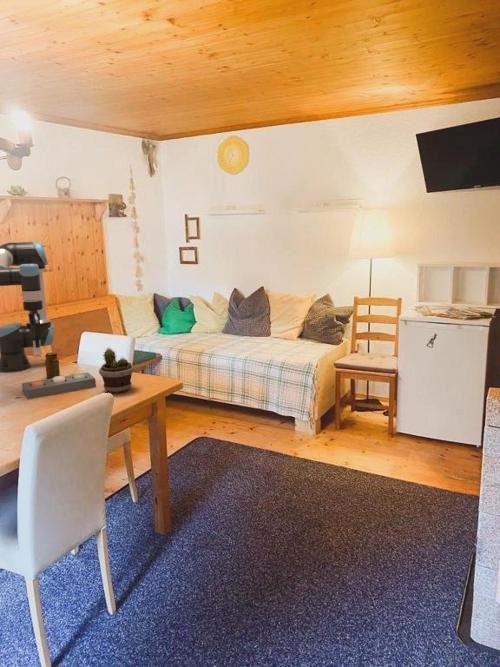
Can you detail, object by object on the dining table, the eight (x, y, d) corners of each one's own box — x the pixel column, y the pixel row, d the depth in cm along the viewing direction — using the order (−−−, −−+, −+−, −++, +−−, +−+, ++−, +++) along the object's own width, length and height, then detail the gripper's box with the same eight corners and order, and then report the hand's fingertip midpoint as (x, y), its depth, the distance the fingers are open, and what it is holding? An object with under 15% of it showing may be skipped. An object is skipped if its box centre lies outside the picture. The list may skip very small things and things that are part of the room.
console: (22, 391, 219) (21, 383, 218) (88, 380, 235) (87, 372, 234) (27, 399, 209) (26, 390, 209) (95, 386, 225) (95, 378, 224)
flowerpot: (142, 388, 222) (139, 344, 218) (117, 397, 210) (113, 352, 205) (118, 383, 230) (115, 341, 226) (93, 392, 217) (89, 348, 213)
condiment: (58, 374, 246) (56, 351, 243) (64, 378, 239) (62, 354, 237) (43, 377, 241) (40, 353, 239) (48, 381, 235) (46, 356, 232)
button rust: (31, 389, 218) (30, 382, 217) (43, 387, 220) (42, 380, 220) (33, 392, 214) (32, 385, 213) (45, 390, 216) (44, 383, 216)
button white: (52, 384, 222) (51, 377, 222) (63, 382, 225) (63, 375, 224) (54, 387, 218) (54, 379, 218) (66, 385, 221) (65, 377, 220)
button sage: (72, 382, 227) (72, 375, 227) (83, 380, 230) (83, 373, 229) (75, 385, 223) (75, 377, 223) (86, 383, 226) (86, 376, 225)
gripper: (20, 299, 213) (26, 352, 218) (25, 303, 202) (31, 358, 207) (39, 298, 217) (44, 350, 222) (44, 301, 206) (50, 356, 211)
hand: (37, 354), depth 214 cm, fingers closed
